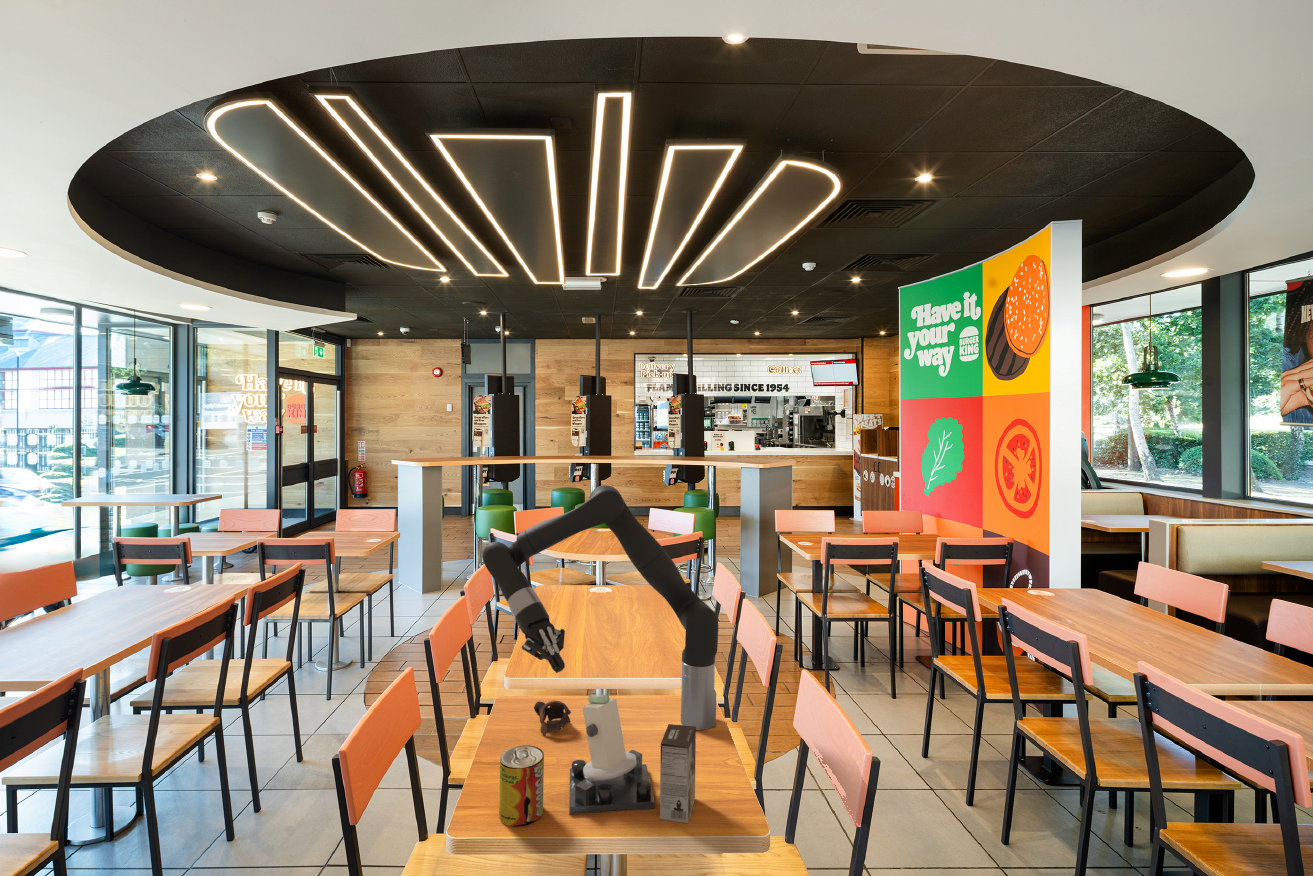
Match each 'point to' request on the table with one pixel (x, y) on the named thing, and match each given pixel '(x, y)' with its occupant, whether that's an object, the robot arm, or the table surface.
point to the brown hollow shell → (552, 715)
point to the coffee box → (677, 773)
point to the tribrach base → (618, 792)
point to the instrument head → (605, 740)
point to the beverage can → (521, 786)
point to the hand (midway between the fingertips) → (560, 670)
